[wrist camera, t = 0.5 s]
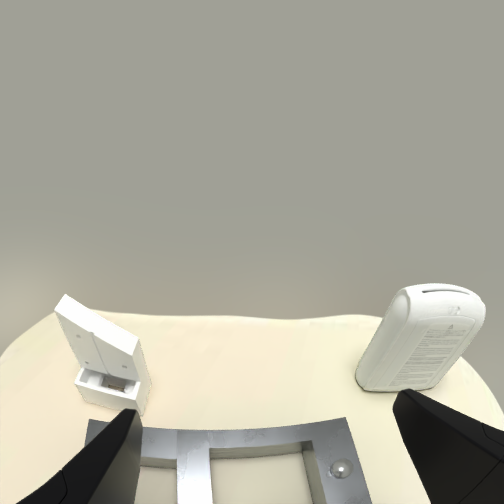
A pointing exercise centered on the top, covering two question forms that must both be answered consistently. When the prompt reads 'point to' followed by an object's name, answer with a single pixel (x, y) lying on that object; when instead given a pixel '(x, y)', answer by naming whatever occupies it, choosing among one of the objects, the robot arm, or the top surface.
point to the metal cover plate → (256, 445)
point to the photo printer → (420, 337)
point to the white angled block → (105, 358)
